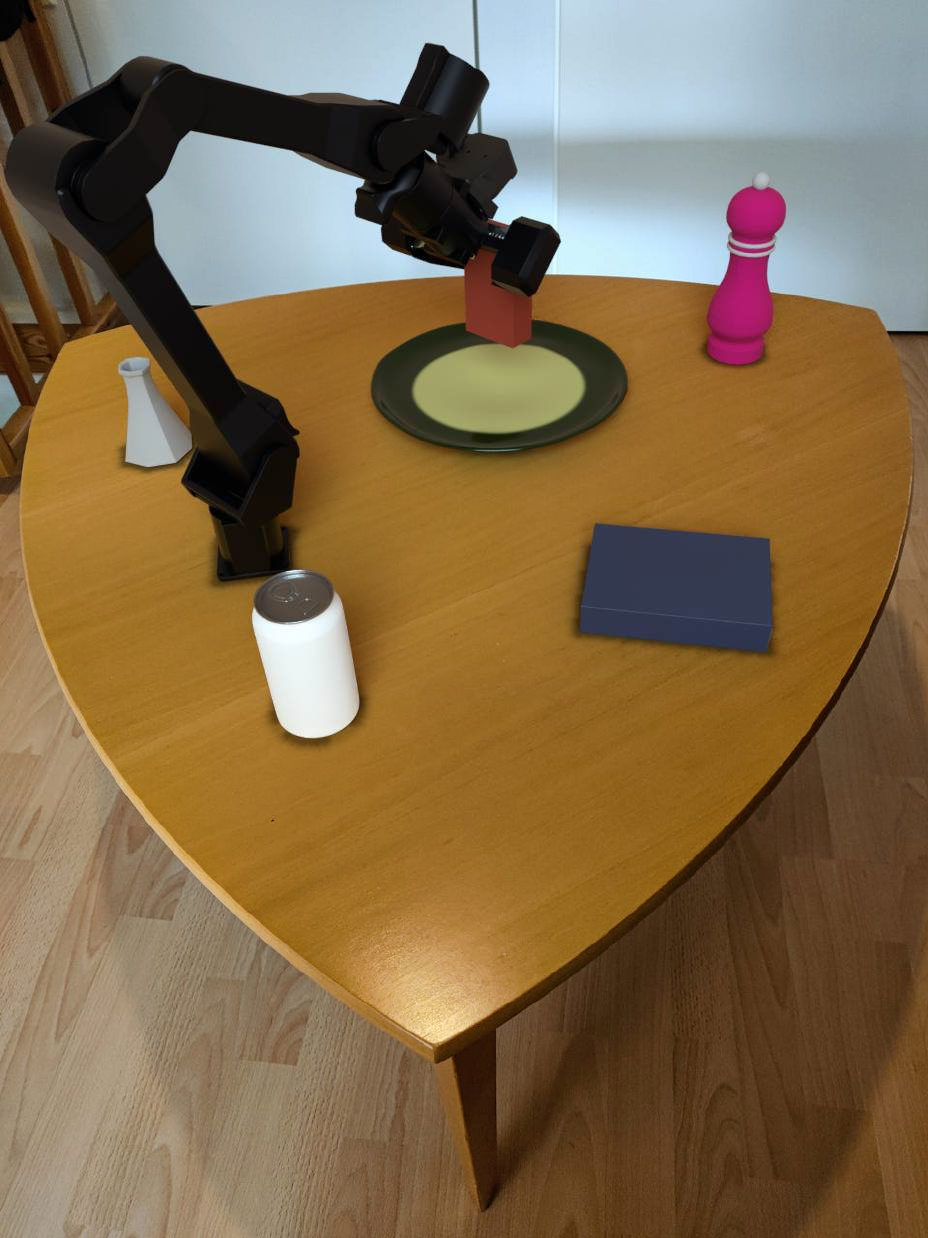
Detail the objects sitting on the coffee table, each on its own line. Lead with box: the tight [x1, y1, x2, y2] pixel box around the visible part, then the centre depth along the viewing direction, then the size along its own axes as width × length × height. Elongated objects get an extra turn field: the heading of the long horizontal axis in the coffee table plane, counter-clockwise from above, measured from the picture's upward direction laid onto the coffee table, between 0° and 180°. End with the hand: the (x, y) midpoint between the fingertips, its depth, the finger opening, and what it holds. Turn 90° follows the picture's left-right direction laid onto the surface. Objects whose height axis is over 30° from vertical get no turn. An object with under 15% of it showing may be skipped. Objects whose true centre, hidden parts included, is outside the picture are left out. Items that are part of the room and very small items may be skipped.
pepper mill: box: [706, 171, 787, 366], centre depth 108 cm, size 7×7×20 cm
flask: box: [117, 356, 193, 468], centre depth 102 cm, size 7×7×10 cm
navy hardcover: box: [579, 522, 774, 653], centre depth 84 cm, size 15×11×3 cm
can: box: [251, 568, 360, 739], centre depth 73 cm, size 6×6×12 cm
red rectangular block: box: [463, 219, 533, 349], centre depth 101 cm, size 3×6×11 cm, turn 48°
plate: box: [370, 318, 629, 453], centre depth 109 cm, size 28×28×2 cm
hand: (507, 275), depth 101 cm, fingers closed on red rectangular block, 6 cm apart
